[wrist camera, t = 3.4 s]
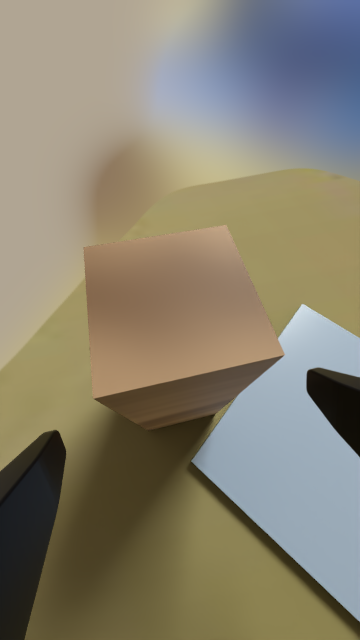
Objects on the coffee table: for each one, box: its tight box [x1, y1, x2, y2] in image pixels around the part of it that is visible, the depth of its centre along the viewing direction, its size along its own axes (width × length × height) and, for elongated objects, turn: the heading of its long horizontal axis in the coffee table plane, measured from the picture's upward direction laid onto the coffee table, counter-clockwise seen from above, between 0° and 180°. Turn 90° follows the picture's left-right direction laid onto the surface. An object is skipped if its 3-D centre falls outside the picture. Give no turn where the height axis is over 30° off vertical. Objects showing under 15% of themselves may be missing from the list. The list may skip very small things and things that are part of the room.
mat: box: [191, 304, 360, 622], centre depth 17 cm, size 16×16×1 cm
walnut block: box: [84, 225, 285, 431], centre depth 13 cm, size 5×5×13 cm
